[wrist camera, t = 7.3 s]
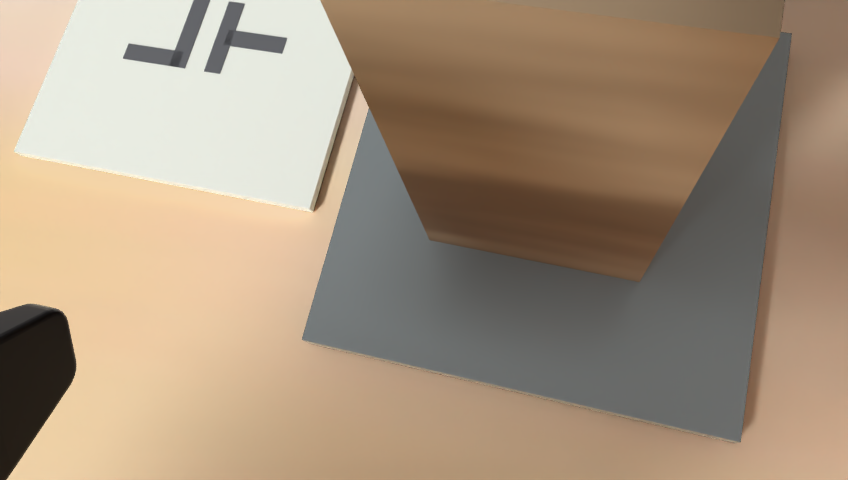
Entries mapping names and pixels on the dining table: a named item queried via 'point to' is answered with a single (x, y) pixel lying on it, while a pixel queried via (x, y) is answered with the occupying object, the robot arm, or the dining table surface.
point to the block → (554, 114)
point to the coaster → (568, 292)
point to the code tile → (196, 96)
